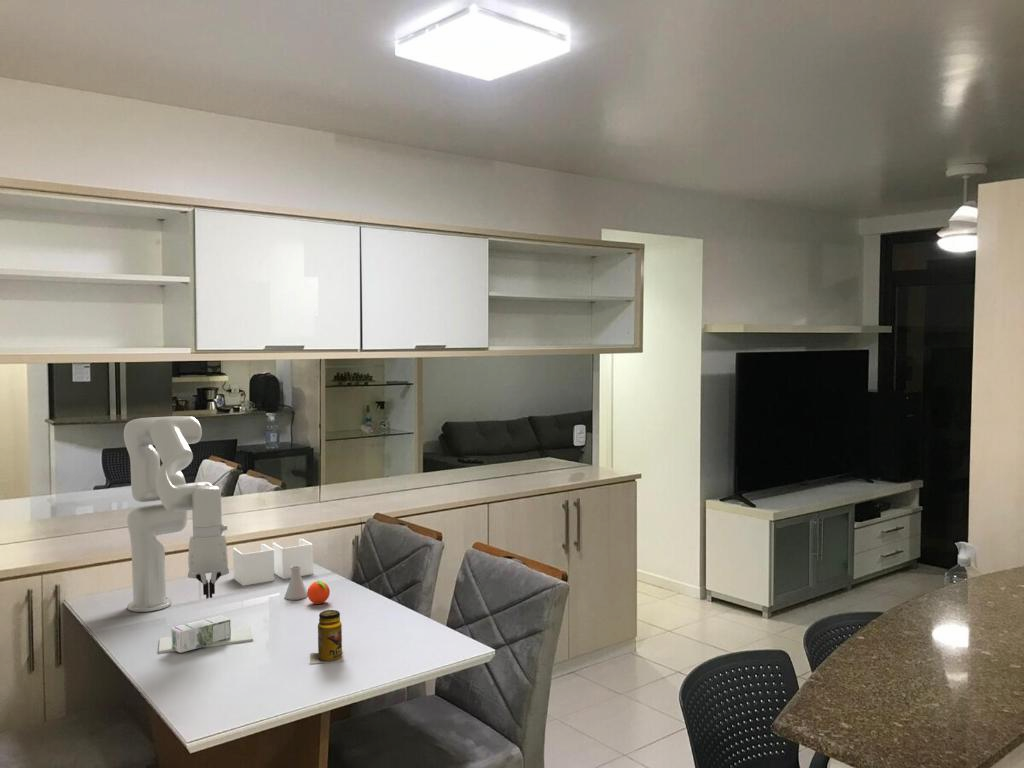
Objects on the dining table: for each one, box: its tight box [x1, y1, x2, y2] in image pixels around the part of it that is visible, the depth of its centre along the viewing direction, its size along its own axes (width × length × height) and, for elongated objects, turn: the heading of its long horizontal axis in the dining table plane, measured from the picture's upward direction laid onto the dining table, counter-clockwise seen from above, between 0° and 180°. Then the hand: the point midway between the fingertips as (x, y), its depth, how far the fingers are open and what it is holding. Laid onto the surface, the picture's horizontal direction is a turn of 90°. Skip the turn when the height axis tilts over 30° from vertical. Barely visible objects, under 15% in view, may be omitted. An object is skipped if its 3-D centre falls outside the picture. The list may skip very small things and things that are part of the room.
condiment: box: [309, 609, 345, 665], centre depth 218 cm, size 7×8×12 cm
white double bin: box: [232, 538, 314, 586], centre depth 297 cm, size 25×11×11 cm, turn 124°
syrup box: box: [170, 614, 232, 653], centre depth 228 cm, size 6×6×14 cm
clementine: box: [307, 580, 331, 605], centre depth 265 cm, size 8×7×7 cm
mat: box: [158, 626, 254, 654], centre depth 232 cm, size 11×24×1 cm, turn 111°
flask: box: [284, 566, 308, 601], centre depth 272 cm, size 7×7×10 cm
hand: (209, 596), depth 232 cm, fingers closed
